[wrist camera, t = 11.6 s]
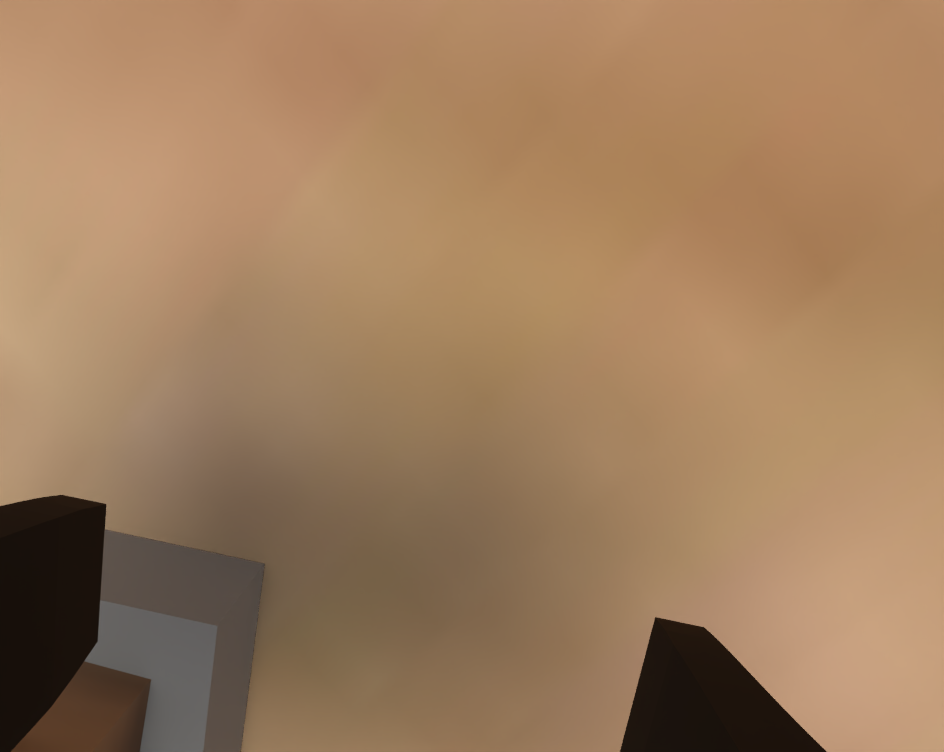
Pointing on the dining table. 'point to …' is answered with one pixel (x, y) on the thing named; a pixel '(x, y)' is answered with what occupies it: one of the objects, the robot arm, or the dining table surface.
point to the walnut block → (93, 714)
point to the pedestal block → (181, 638)
